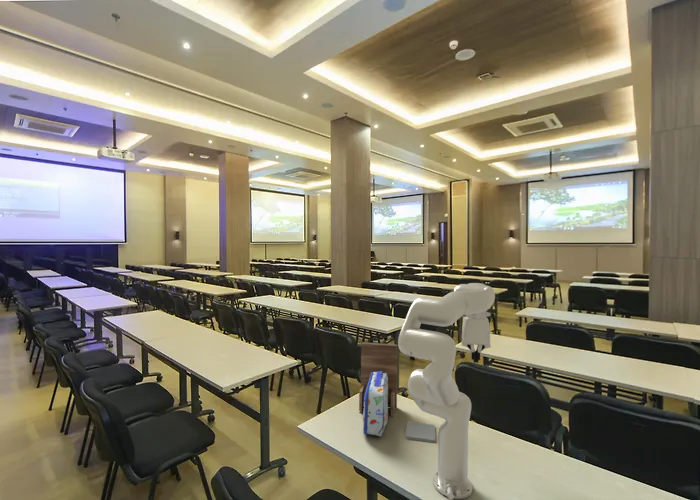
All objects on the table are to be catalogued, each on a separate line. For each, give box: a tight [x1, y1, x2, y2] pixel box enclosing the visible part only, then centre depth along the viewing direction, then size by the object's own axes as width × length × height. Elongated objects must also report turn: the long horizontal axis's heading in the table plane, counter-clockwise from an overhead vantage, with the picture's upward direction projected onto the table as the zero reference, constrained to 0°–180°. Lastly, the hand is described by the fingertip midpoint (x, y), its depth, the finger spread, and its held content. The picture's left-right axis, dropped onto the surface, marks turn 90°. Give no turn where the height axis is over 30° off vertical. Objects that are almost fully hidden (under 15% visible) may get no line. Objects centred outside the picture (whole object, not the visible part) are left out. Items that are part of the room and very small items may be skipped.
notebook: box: [405, 421, 437, 443], centre depth 143 cm, size 12×12×2 cm
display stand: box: [358, 341, 398, 417], centre depth 163 cm, size 10×18×31 cm, turn 77°
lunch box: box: [362, 371, 389, 437], centre depth 149 cm, size 28×10×22 cm, turn 171°
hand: (475, 361), depth 130 cm, fingers closed
